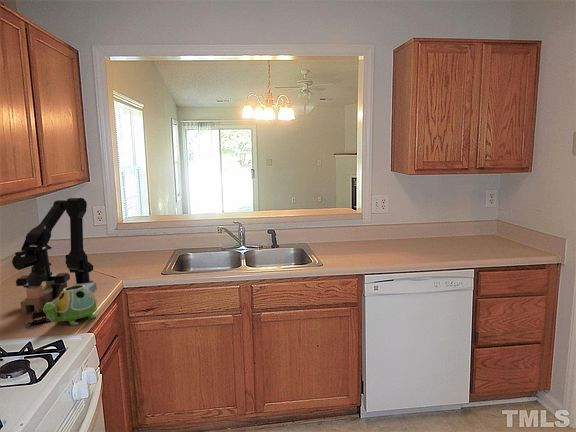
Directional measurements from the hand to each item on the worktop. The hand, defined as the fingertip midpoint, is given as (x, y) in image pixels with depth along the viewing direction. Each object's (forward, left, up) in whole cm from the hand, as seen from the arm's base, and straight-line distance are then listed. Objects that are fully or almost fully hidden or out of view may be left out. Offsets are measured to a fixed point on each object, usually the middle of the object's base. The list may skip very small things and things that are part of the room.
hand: (46, 299), depth 174 cm
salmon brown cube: (+7, 0, +4) cm, 8 cm away
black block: (+21, +7, -2) cm, 23 cm away
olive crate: (-7, 0, +4) cm, 8 cm away
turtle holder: (+22, +20, -1) cm, 29 cm away
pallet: (0, 0, -1) cm, 1 cm away
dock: (0, +11, -1) cm, 11 cm away
